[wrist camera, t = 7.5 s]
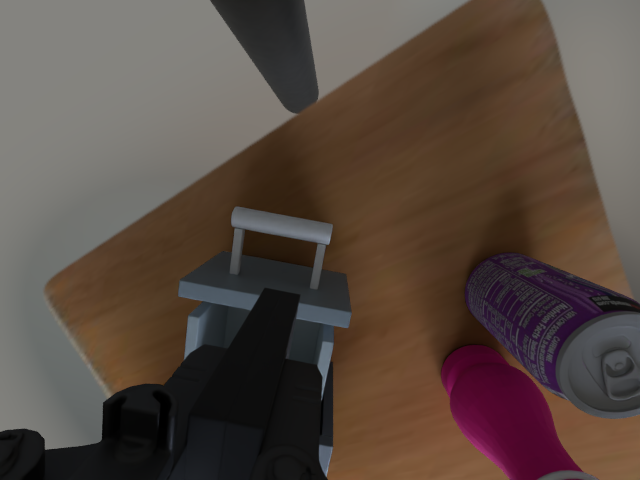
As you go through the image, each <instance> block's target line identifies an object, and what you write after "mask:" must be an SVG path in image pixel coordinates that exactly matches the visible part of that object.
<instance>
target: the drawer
mask: <svg viewBox="0 0 640 480" xmlns="http://www.w3.org/2000/svg"><path fill="white" fill-rule="evenodd" d="M231 224H232V226H233V227H236V228H235V231H234V240H233V248H232V253H231V252H226V251H222V252H220V253H219V254H217V255H216V256H214V257H213V258H211V259H210V260H209V261H207V262H206V263H204V264H203V265H201V266H200V267H198V268H197V269H195V270H194V271H192V272H191V273H189V274H188V275H186V276H185V277H183V278H182V279H180V281H179V291H178V296H179V297H184V298H190V299H195V300H200V301H203V302H202V303H201V304H200V305H199V306H198V307H197V308H196V309H195V310H194V311H193V312H192V313H190V314H189V316H188V324H187V334H186V345H185V356H184V360H185V358H186V357H187V356H188V355H189V353H190V352H192V351H194V350H195V349H197V348H199V347H200V346H202V345H204V344H207V345H212V346H217V347H222V348H229V346H230V344H231V343H232V341H233V339H234V338H235V336H236V334H237V333H238V331H239V329H240V328H241V326H242V324H243V323H244V321H245V319H246V318H247V316H248V314H249V313H250V311H251V309H252V308H253V306H254V304H255V303H256V301H257V299H258V298H259V296H260V294H261V293H262V291H263V290H264V288H270V289H275V290H280V291H285V292H290V293H295V294H300V295H301V296H300V301H299V306H298V311H297V317H296V322H295V327H294V333H293V338H292V343H291V349H290V354H289V358H288V359H290V360H295V361H300V362H306V363H311V364H316V365H317V367H318V369H319V371H320V373H321V375H322V377H323V379H322V397H323V392H324V387H325V382H326V378H327V373H328V368H329V364H330V359H331V354H332V349H333V345H334V326H339V327H345V328H348V327H349V322H350V318H351V313H352V312H351V305H350V298H349V290H348V283H347V276H346V274H344V273H338V272H333V271H328V270H322V264H323V259H324V254H325V248H326V244H327V245H329V243H330V238H331V233H332V227H333V225H332V224H329V223H324V222H318V221H313V220H307V219H302V218H297V217H291V216H286V215H281V214H275V213H270V212H264V211H259V210H254V209H248V208H243V207H238V206H237V207H235V208H234V210H233V213H232V217H231ZM245 229H246V230H252V231H257V232H262V233H268V234H273V235H278V236H284V237H289V238H295V239H300V240H305V241H311V242H316V243H318V245H317V251H316V256H315V262H314V267H313V268H312V267H306V266H301V265H295V264H290V263H285V262H279V261H274V260H269V259H263V258H258V257H253V256H247V255H242V249H243V241H244V234H245ZM321 401H322V399H321Z"/></svg>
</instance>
